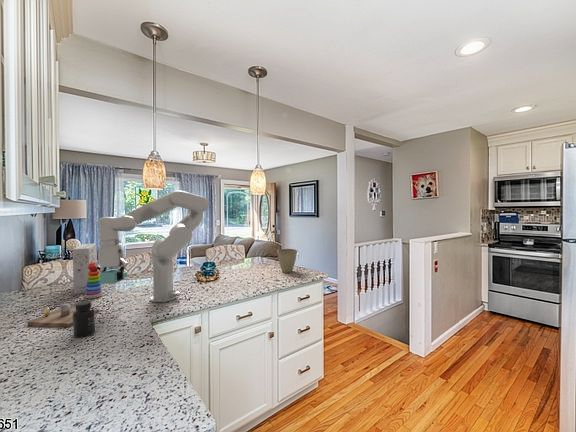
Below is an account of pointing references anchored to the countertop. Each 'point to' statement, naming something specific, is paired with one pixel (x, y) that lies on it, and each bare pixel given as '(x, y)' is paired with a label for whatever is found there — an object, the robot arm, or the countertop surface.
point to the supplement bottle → (83, 319)
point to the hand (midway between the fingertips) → (112, 279)
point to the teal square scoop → (110, 276)
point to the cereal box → (82, 265)
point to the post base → (57, 318)
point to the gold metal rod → (46, 312)
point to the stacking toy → (93, 283)
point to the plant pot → (287, 259)
